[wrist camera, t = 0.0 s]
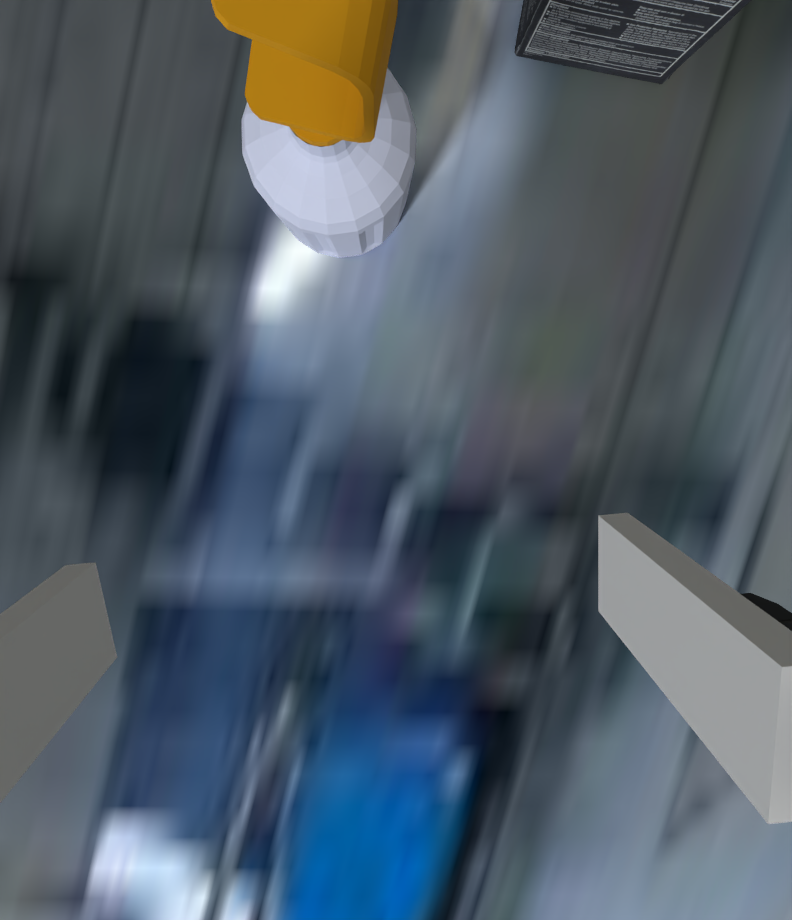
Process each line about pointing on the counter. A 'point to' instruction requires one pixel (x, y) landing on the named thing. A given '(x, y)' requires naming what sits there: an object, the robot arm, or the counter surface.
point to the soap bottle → (325, 118)
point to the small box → (621, 33)
